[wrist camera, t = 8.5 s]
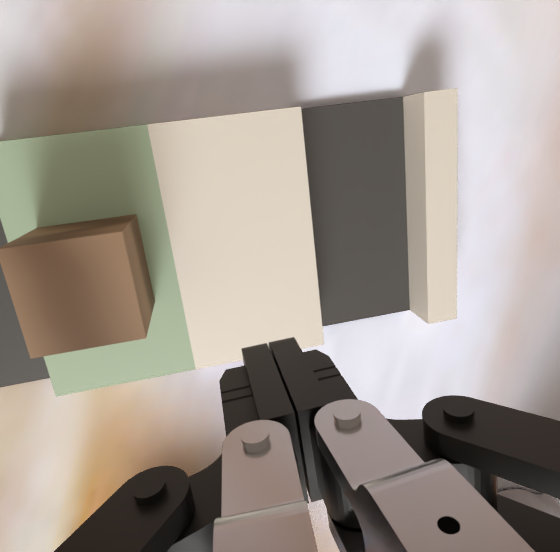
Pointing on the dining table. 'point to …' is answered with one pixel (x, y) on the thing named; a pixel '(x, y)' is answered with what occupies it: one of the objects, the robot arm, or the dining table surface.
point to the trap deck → (248, 227)
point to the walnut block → (79, 285)
